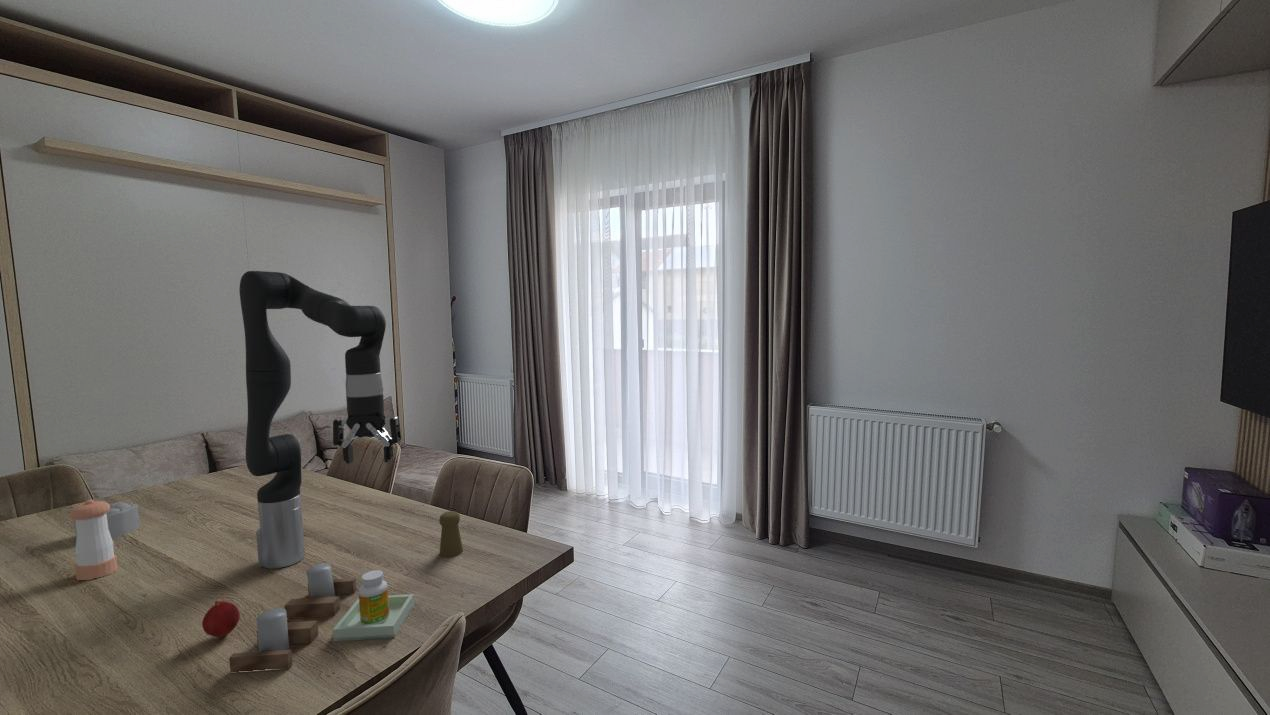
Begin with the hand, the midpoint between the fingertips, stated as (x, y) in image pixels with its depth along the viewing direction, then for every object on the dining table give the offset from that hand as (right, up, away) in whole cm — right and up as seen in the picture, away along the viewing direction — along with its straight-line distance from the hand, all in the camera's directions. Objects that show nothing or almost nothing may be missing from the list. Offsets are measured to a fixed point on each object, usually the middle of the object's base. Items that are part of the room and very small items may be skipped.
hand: (369, 462), depth 120 cm
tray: (+8, -31, -12) cm, 34 cm away
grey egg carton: (-96, -29, +35) cm, 106 cm away
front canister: (-7, -32, -22) cm, 40 cm away
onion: (-21, -32, -16) cm, 42 cm away
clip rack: (-7, -32, -13) cm, 35 cm away
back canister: (-8, -31, -4) cm, 32 cm away
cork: (+12, -29, +20) cm, 37 cm away
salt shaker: (-74, -31, +11) cm, 81 cm away
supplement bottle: (+7, -31, -12) cm, 34 cm away
